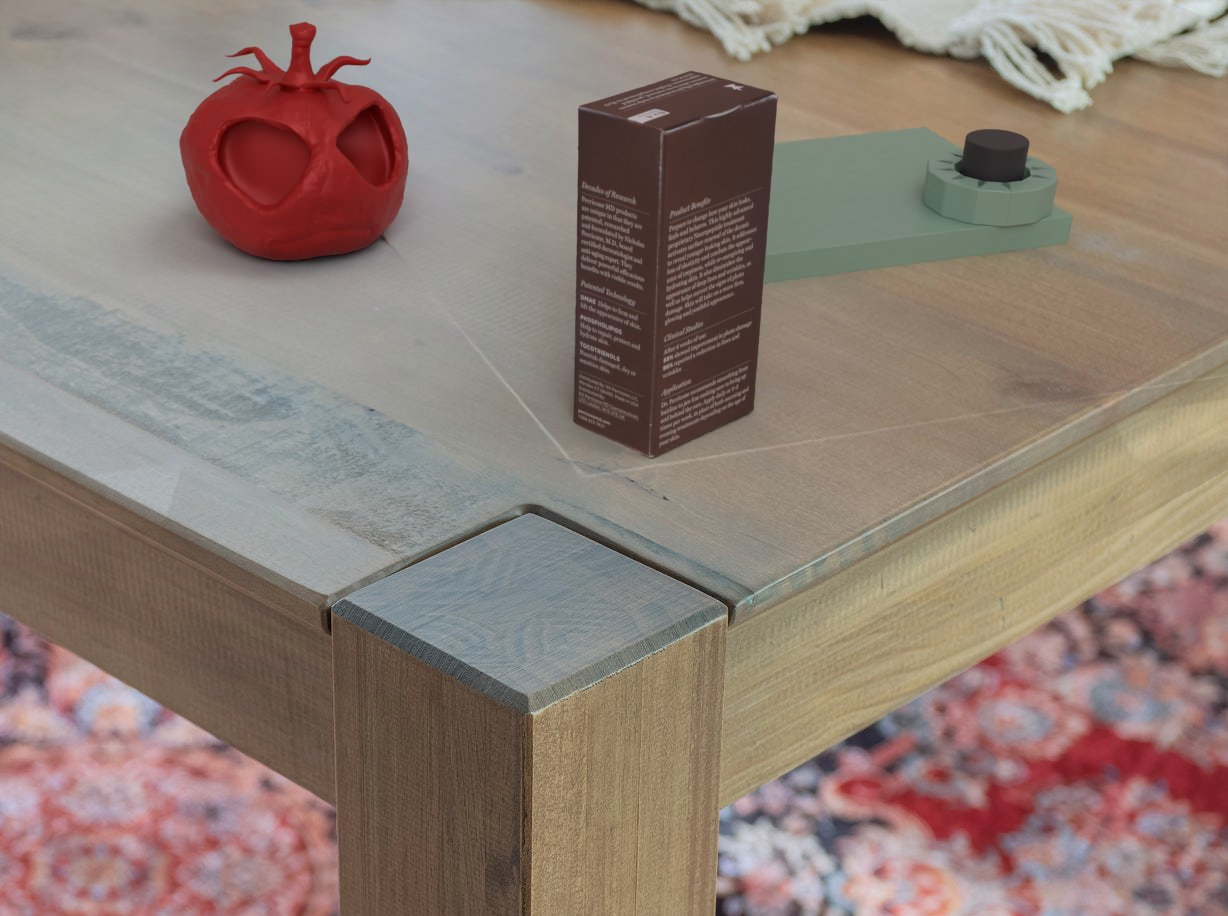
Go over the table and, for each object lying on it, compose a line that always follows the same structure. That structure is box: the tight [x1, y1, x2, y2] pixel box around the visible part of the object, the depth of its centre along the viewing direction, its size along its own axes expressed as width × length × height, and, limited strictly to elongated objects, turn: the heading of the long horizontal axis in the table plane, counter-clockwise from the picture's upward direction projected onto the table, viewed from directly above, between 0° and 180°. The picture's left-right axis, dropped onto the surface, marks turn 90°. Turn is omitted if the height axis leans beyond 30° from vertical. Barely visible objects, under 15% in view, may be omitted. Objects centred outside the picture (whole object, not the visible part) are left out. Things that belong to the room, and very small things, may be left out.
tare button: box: [960, 128, 1030, 183], centre depth 86 cm, size 3×3×2 cm
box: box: [573, 70, 779, 459], centre depth 68 cm, size 6×4×12 cm
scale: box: [763, 126, 1074, 285], centre depth 88 cm, size 16×13×3 cm
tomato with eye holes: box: [178, 21, 410, 261], centre depth 83 cm, size 10×10×9 cm
